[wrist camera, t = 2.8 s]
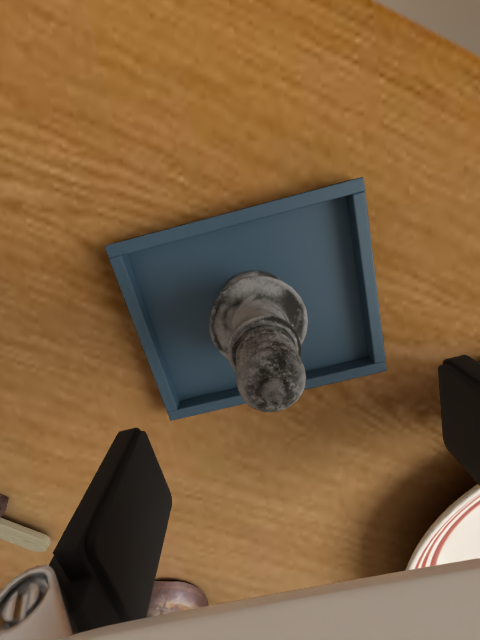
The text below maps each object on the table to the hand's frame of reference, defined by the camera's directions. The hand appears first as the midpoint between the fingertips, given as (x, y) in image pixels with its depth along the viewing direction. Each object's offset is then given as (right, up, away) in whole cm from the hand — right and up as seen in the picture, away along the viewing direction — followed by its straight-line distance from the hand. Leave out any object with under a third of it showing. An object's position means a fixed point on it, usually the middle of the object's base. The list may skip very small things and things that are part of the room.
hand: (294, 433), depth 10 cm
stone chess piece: (-1, +4, +13) cm, 14 cm away
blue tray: (-1, +5, +13) cm, 14 cm away
